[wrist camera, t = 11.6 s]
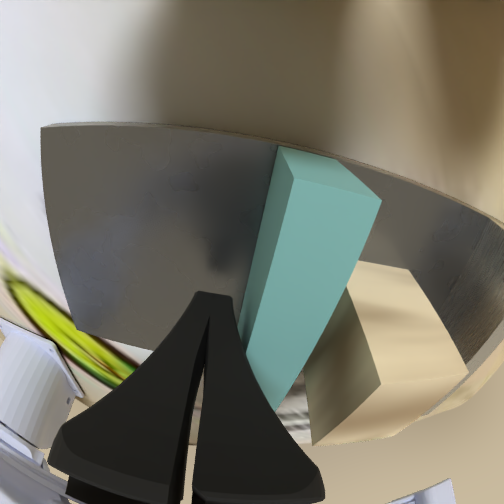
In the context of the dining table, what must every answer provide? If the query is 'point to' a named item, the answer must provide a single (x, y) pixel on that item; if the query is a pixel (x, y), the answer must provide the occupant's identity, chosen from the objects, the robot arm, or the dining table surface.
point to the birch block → (378, 359)
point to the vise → (236, 231)
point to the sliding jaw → (301, 263)
